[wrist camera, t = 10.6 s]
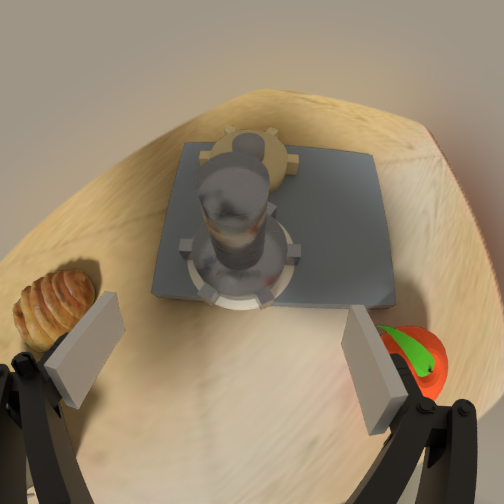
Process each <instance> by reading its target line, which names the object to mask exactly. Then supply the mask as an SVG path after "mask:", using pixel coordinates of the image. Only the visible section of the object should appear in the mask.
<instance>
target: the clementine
mask: <svg viewBox="0 0 504 504" xmlns="http://www.w3.org/2000/svg"><path fill="white" fill-rule="evenodd" d="M376 326H378V327H380V328H382V329H384V330H385V331H386V333H385V334H383V335H382V336H381V339H382V341H383V343H384V345H385V347H386V349H387V351H388V353H389V354H393V353H398V354H399V355H400V356H402V357H403V358H404V359H405V361H406V363H407V364H408V366H409V369H410V370H411V372H412V375H413V376H414V378H415V380H416V382H417V384H418V386H419V388H420V390H421V392H422V394H423V396H424V397H428V398H430V399H432V400H433V401H434V400H435V399H436V398H437V397H438V395H439V394H440V392H441V391H442V389H443V386H444V384H445V381H446V378H447V373H448V359H447V355H446V351H445V348H444V346H443V344H442V343H441V341H440V340H439V339H438V338H437V337H436V336H435V335H434V334H433V333H431V332H429V331H427V330H426V329H424V328H421V327H416V326H405V327H397V328H395V329H394V328H391V327H388V326H381V325H376Z"/></svg>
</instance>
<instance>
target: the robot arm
mask: <svg viewBox="0 0 504 504" xmlns="http://www.w3.org/2000/svg"><path fill="white" fill-rule="evenodd" d="M124 332H125V328H124V324H123V320H122V316H121V312H120V307H119V303H118V299H117V294H116V292H107V291H105V292H104V293H103V295H102V296H101V297H100V298H99V299H98V300H97V301H96V302H95V304H94V305H93V306H92V307H91V308H90V309H89V310H88V311H87V313H86V314H85V315H84V316H83V317H82V318H81V320H80V321H79V322H78V323H77V324H76V326H75V327H74V328H73V329H72V330H71V331H70V333H68V332H66V333H64V334H63V335H61V336H60V337H59V338H58V339H57V340H56V341H55V342H54V345H52V346H51V347H50V349H49V350H48V351H47V352H46V353H45V355H44V356H43V357H42V358H41V360H40V361H39V362H38V363H36V361H35V359H34V357H33V355H32V354H31V353H29V352H22V353H19V354H17V355H16V356H15V357H14V358H13V359H12V362H11V365H12V367H13V368H14V370H15V372H10V370H9V368H8V366H7V365H5V364H0V504H28V503H27V484H26V457H27V459H28V464H29V468H30V473H31V477H32V481H33V484H34V488H35V492H36V495H37V498H38V502H39V504H94V502H93V500H92V498H91V495H90V493H89V491H88V488H87V486H86V484H85V481H84V479H83V476H82V473H81V471H80V468H79V465H78V463H77V460H76V457H75V454H74V451H73V448H72V444H71V441H70V438H69V434H68V431H67V427H66V424H65V420H64V416H63V412H62V407H61V405H60V403H59V401H60V400H61V398H62V399H63V400H64V402H65V404H66V405H67V406H70V407H72V408H75V409H78V410H79V408H80V406H81V404H82V402H83V400H84V399H85V397H86V395H87V393H88V392H89V390H90V388H91V386H92V385H93V383H94V381H95V379H96V378H97V376H98V374H99V373H100V371H101V369H102V368H103V366H104V364H105V363H106V361H107V359H108V358H109V356H110V354H111V353H112V351H113V349H114V348H115V346H116V345H117V343H118V341H119V340H120V338H121V337H122V335H123V333H124ZM341 345H342V348H343V351H344V354H345V357H346V360H347V364H348V367H349V370H350V373H351V376H352V379H353V383H354V386H355V389H356V393H357V396H358V399H359V403H360V406H361V409H362V413H363V416H364V420H365V424H366V427H367V431H368V434H369V436H371V435H377V434H383V433H385V431H386V430H387V428H388V427H390V430H391V434H390V435H389V437H388V438H387V440H386V441H385V442H384V444H383V445H384V446H383V448H382V449H381V451H380V453H379V454H378V456H377V458H376V459H375V461H374V463H373V464H372V466H371V467H370V469H369V470H368V472H367V473H366V475H365V476H364V478H363V479H362V481H361V482H360V484H359V485H358V487H357V488H356V489H355V491H354V492H353V494H352V495H351V496H350V498H349V499H348V500H347V502H346V503H345V504H396V503H397V502H398V500H399V498H400V496H401V495H402V493H403V491H404V489H405V487H406V485H407V483H408V481H409V479H410V477H411V475H412V473H413V471H414V469H415V467H416V465H417V463H418V461H419V458H420V456H421V454H422V452H423V449H424V447H426V449H425V456H424V462H423V468H422V474H421V479H420V484H419V488H418V493H417V497H416V501H415V504H474V499H475V490H476V477H477V418H476V409H475V406H474V405H473V404H472V403H471V402H470V401H468V400H465V399H459V400H457V401H455V403H454V404H453V405H452V407H451V406H437V405H436V403H435V402H434V401H433V400H432V399H430V398H428V397H424V396H423V394H422V392H421V390H420V388H419V386H418V384H417V382H416V380H415V378H414V376H413V375H412V372H411V370H410V369H409V366H408V364H407V363H406V361H405V359H404V358H403V357H402V356H400V355H399V354H398V353H393V354H389V353H388V351H387V349H386V347H385V345H384V343H383V341H382V339H381V337H380V335H379V333H378V331H377V329H376V327H375V325H374V324H373V322H372V320H371V318H370V316H369V314H368V312H367V310H366V308H365V307H364V305H351V306H350V310H349V314H348V319H347V323H346V327H345V331H344V335H343V338H342V342H341ZM7 404H8V407H7Z"/></svg>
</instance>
